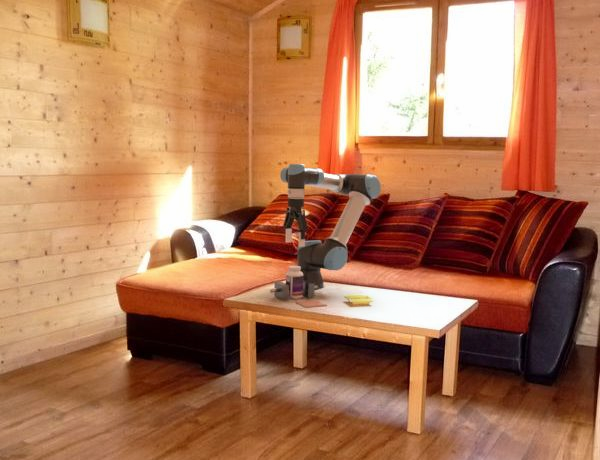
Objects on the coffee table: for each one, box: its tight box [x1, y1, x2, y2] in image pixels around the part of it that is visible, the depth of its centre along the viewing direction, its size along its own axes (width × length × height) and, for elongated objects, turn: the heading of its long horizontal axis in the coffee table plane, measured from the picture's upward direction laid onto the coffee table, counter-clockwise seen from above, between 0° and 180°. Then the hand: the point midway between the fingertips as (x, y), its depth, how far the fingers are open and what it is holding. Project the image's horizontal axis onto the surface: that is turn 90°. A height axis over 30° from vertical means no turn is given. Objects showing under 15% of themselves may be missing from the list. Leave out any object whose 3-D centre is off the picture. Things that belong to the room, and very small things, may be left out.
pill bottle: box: [285, 265, 304, 300], centre depth 293 cm, size 8×8×14 cm
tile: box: [295, 299, 328, 309], centre depth 281 cm, size 10×10×1 cm
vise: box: [269, 280, 318, 302], centre depth 294 cm, size 24×9×7 cm, turn 117°
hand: (294, 244), depth 291 cm, fingers open, 13 cm apart
